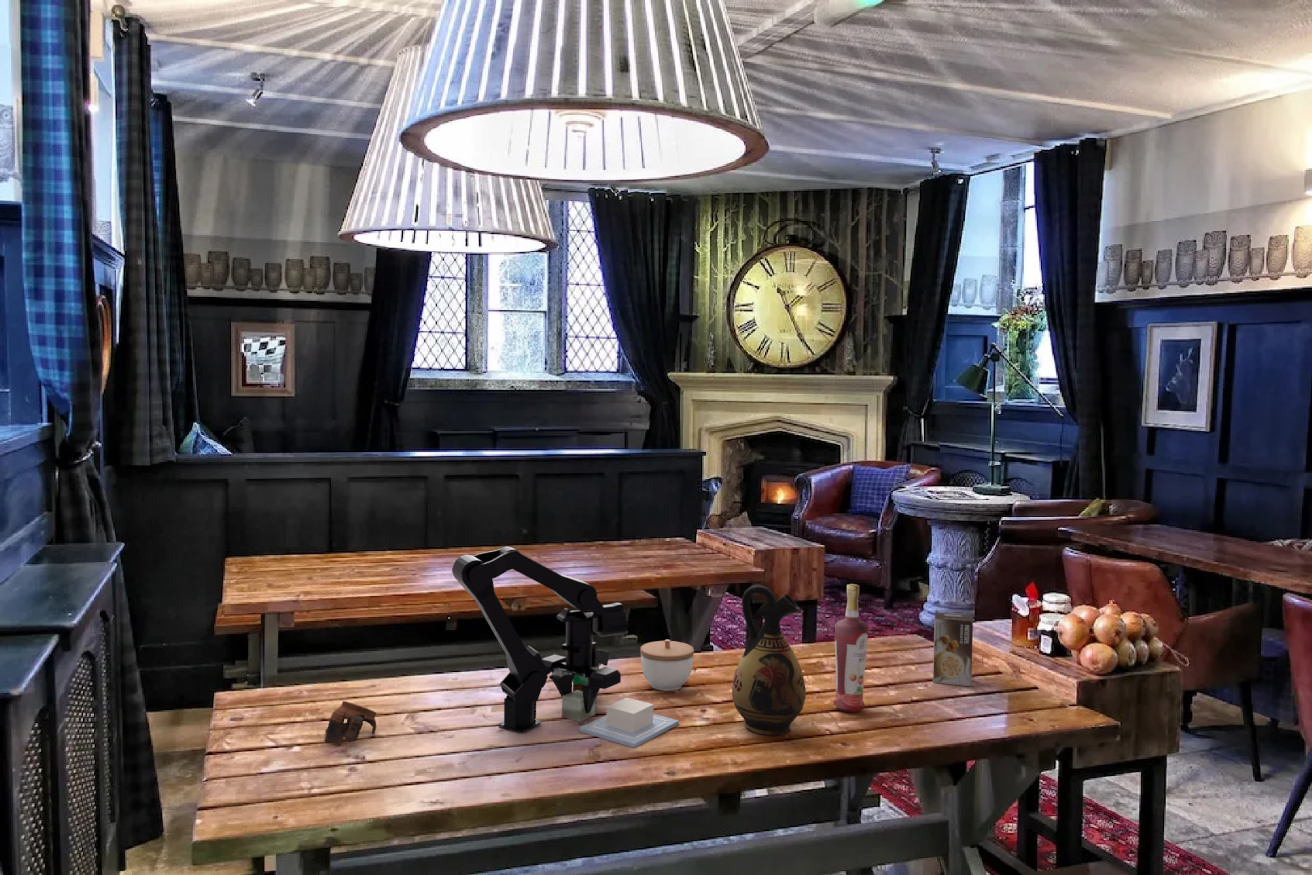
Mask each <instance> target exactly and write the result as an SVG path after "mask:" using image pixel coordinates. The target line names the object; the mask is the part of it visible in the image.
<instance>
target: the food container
mask: <svg viewBox="0 0 1312 875" xmlns="http://www.w3.org/2000/svg"><path fill="white" fill-rule="evenodd" d="M601 665H602V664H599V666H597V667H592V669H593V670H598V669H600V666H601ZM586 683H588V678H586V677H582V676H578V675H575V676H574V679H573V681H572V692H573V691H576V690H579V691H582V685H584V684H586ZM597 697H598V695H597V696H596V698H597Z"/></svg>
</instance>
